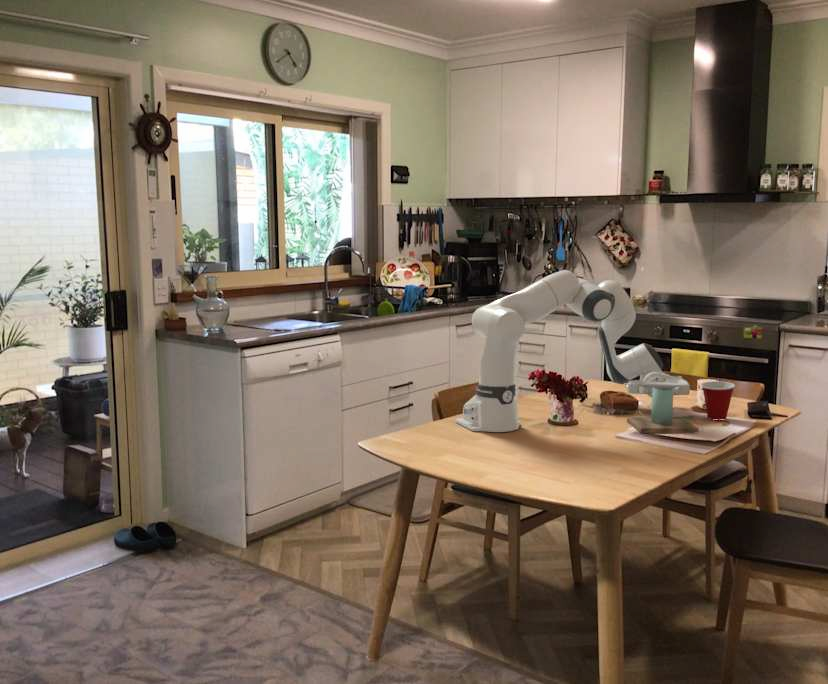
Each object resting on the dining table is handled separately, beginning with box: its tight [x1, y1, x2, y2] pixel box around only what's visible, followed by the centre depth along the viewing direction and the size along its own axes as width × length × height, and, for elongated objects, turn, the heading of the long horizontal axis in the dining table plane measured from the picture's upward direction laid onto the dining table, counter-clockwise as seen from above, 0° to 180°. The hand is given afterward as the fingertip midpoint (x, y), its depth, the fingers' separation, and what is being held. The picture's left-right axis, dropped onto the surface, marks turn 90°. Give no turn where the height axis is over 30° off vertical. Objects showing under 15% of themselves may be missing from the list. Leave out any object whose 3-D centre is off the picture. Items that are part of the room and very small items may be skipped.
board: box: [626, 416, 700, 434], centre depth 258 cm, size 18×16×2 cm
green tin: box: [650, 387, 674, 425], centre depth 257 cm, size 6×6×11 cm
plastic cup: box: [700, 380, 736, 421], centre depth 269 cm, size 11×11×12 cm
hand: (660, 391), depth 266 cm, fingers open, 8 cm apart
